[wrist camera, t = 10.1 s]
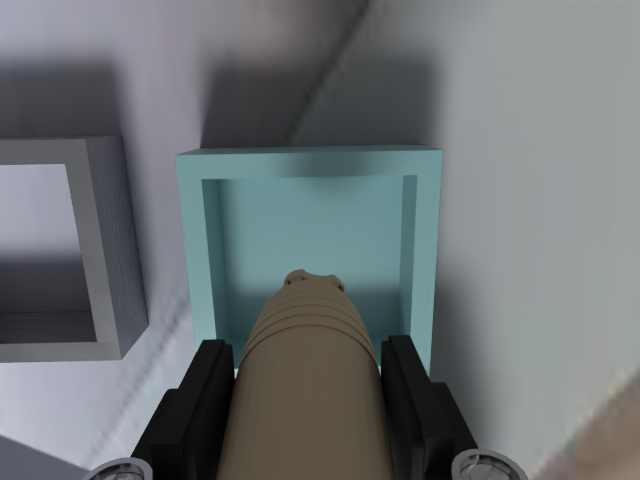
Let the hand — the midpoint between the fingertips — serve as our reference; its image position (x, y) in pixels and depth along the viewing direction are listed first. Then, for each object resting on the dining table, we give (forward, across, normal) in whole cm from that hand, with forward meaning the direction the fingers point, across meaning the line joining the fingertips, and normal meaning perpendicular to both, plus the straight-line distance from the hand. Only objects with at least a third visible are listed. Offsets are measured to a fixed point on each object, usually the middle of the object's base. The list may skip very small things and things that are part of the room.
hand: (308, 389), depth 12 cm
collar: (+12, +14, -1) cm, 18 cm away
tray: (+12, 0, 0) cm, 12 cm away
